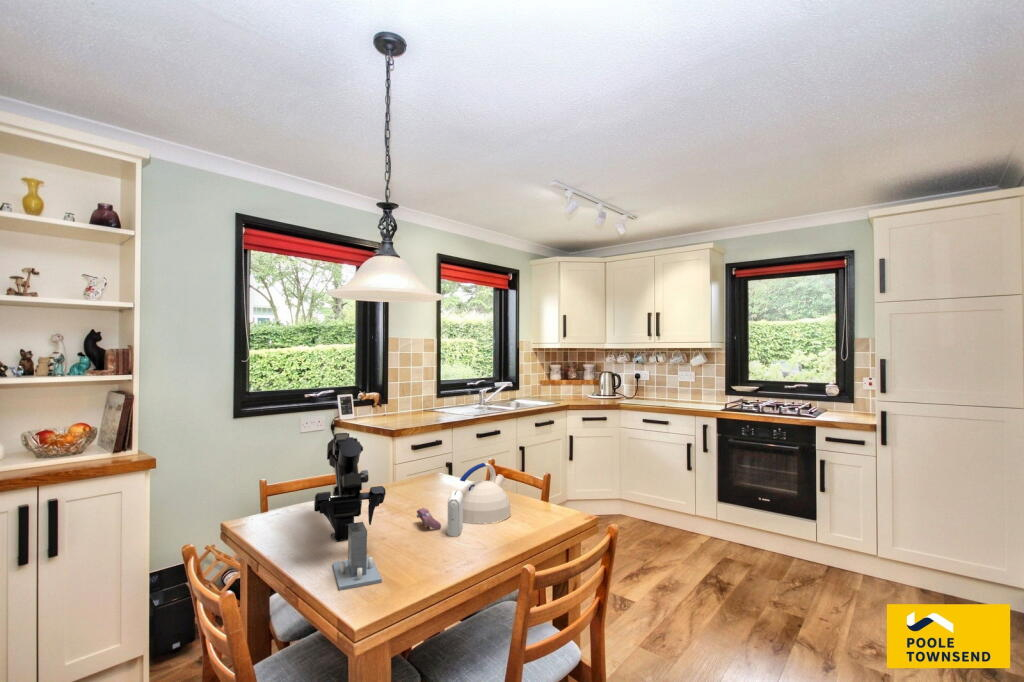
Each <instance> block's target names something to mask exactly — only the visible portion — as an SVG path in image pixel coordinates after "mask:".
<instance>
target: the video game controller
mask: <svg viewBox="0 0 1024 682" xmlns="http://www.w3.org/2000/svg"><path fill="white" fill-rule="evenodd" d="M416 514H417V515H416V517H417V518H418V519H420V520H421V523H422V524H424V526H425V527H426V528H427V529H429V528H431V529H434V530H437V529H438V530H440V529H441V528H442V524H441V523H440V521H438V520H436V519H435V518H434V517H433V516H432V514H431V513H430V510H429V509H428V508H425V507H421V508H419V509H417V510H416Z"/></svg>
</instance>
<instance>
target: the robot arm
mask: <svg viewBox="0 0 1024 682" xmlns="http://www.w3.org/2000/svg"><path fill="white" fill-rule="evenodd" d="M363 451H364V446H363V445H362V444H361V442H360V441H359V440H358V438H357V437H351V436H350V433H348V432H339V433H338V432H337V433H334V434H333V438H332V439H331V440H330V441H329V442H328V443H327V447H326V460H328V463H329V466H330V467H332V468H334V474H335V475H334V476H335V485H336V486H334V488H333V492H332V494H331V491H323V492H316V494H314V500H313V501H314V504H313V508H314V509H313V510H314V512H315V513H316V512H319V514H320V515H321V514H323V515H324V516H325V518H326V519H327V520H328V522H329V524H330V526H331V527H332V529H333V531H334V532H331V533H330V536H331V537H332V538H333V539H334V540H335V541H336V542H341V541H344V540H348V527H349V524H350V523H355V518H356V517H357V518H358V517H360V516H361V515H362V506H363V505H362V504H363V501H364V500H368V507H367V509H368V513H367V515H368V525H369V526H371V525H372V522H373V521H372V520H373V516H374V511H375V509H376V508H377V507H379V506H380V504H382V503H384V500H385V497H386V488H385V487H384V486H383V485H376V486H370V489H369V491H368V492H366V491H365V492H361V491H362V489H363V483H368V482H369V470H367V469H365V470H360V472H359V466H358V464H359V462H360V458H361V457H360V456H361V454H362V452H363Z"/></svg>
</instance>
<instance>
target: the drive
mask: <svg viewBox="0 0 1024 682" xmlns="http://www.w3.org/2000/svg"><path fill="white" fill-rule="evenodd" d="M367 552H368V530H367V528H366V525H365V523H364V521H359V522H354V523H350V524H349V527H348V539H347V560H348V568H349V571H350V575H351V577H356V576H357V568H362V575H366V566H367V557H368V556H367V555H368V554H367Z"/></svg>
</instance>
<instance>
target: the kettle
mask: <svg viewBox="0 0 1024 682" xmlns="http://www.w3.org/2000/svg"><path fill="white" fill-rule="evenodd" d="M484 467H485V468H488V470H489V480H483V479H481V480H480V479H479V480H475V481H473V482H470V483H468V484H467V485H466V486H464V487H463V488H462V489H461V490H460V491H461V493H462V494H463V523H465V522H466V523H467V524H471V523H479V524H478V525H483V524H482V523H492V522H497V521H500V520H503V519H505V518H507V517H508V516H509V515H510V513H511V514H512V512H511V502H510V499H509V497H508V493H506V491H505V490H504V489H503V488H502V487H501V486H502V484H504V482H505V481H506V478H505V477H504V475H502V474H499V473H498V474H496V469H495V468H494V466H493V465H492V464H490V463H488V462H487V463H485V462H481V463H479V464H476V465H474V466H472V467H470V468H469V469H468V470H467V471H466V472H464V473H463V475H462V476H461V477H460V479H459V481H460V482H464V483H465V482H466V480H467V479H468V478H469V477H471V475H472V474H473V473H474V472H476V471H478V470H479V469H481V468H484ZM510 516H511V515H510ZM497 523H498V522H497ZM492 524H493V523H492Z"/></svg>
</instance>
